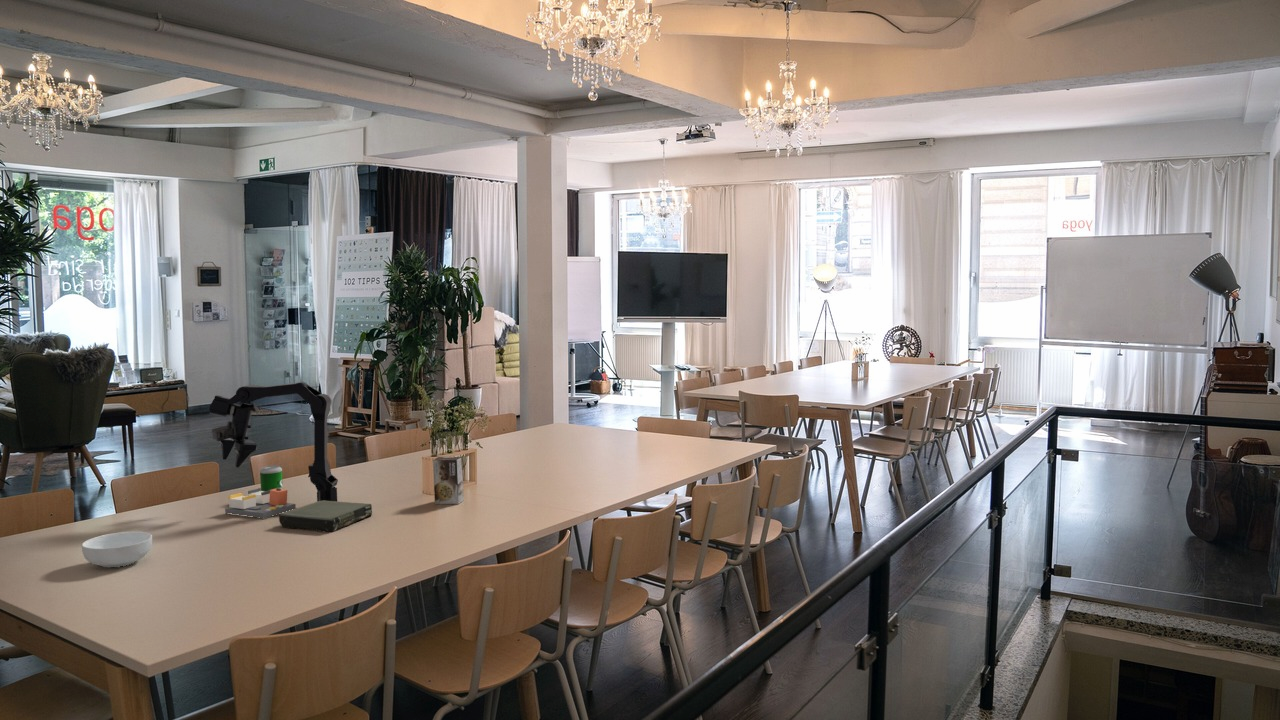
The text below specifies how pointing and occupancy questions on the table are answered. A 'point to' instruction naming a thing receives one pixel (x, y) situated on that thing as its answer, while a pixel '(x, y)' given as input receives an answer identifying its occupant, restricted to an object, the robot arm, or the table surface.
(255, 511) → the panel
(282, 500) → the cap
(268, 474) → the soda can
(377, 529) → the table surface
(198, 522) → the table surface
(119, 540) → the cereal bowl
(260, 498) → the block
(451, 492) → the coffee box
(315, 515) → the network switch
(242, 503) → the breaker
